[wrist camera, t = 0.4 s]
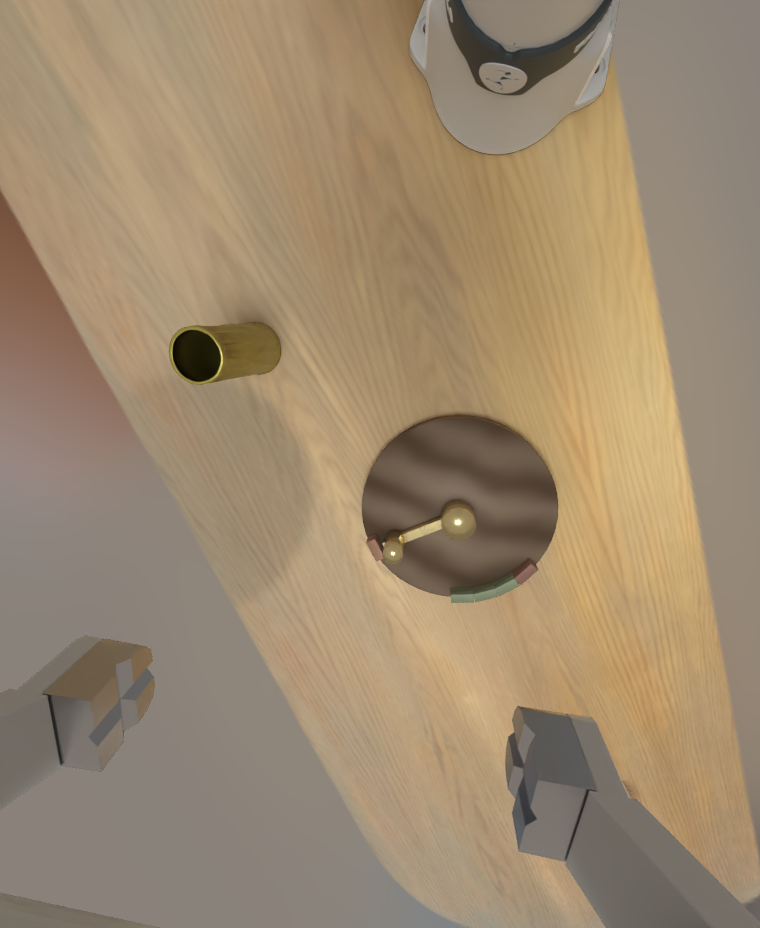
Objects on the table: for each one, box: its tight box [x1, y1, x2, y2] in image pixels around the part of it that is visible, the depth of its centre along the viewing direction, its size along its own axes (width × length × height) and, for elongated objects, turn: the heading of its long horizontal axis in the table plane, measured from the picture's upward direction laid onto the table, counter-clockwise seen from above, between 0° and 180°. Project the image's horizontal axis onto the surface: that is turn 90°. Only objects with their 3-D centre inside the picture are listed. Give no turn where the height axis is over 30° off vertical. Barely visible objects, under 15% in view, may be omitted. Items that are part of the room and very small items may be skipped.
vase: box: [169, 322, 281, 385], centre depth 45 cm, size 6×6×14 cm
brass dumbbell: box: [382, 500, 476, 565], centre depth 52 cm, size 12×4×4 cm, turn 116°
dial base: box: [362, 416, 558, 603], centre depth 54 cm, size 24×24×4 cm
